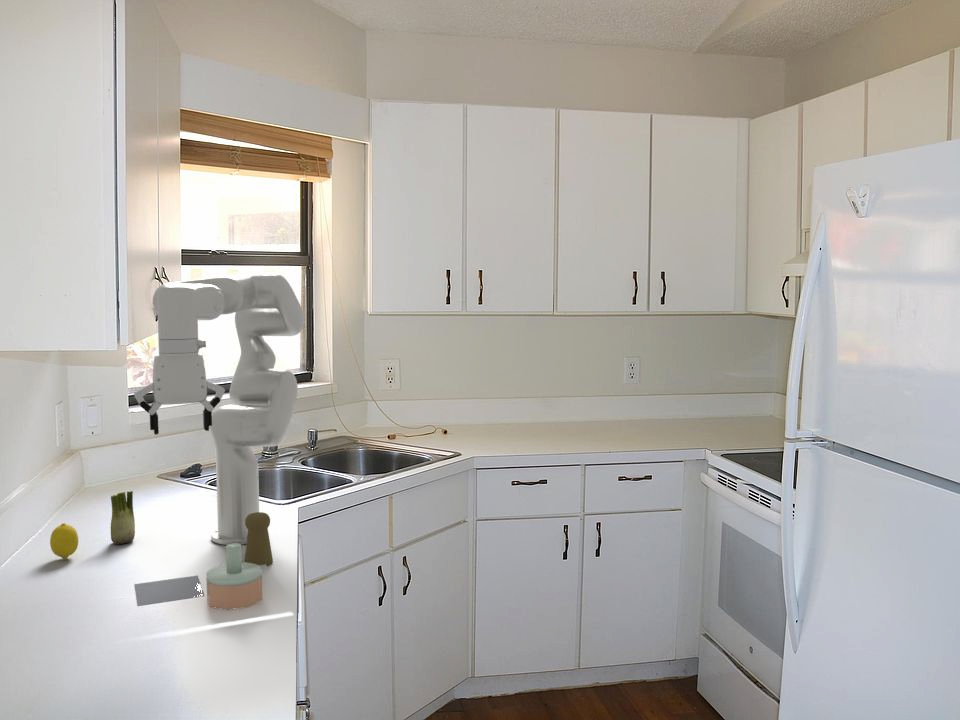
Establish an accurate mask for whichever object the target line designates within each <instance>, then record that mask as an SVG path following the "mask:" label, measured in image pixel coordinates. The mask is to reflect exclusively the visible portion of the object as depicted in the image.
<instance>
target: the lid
mask: <svg viewBox="0 0 960 720" xmlns="http://www.w3.org/2000/svg"><path fill="white" fill-rule="evenodd" d="M242 559H243V557H242V544H237V543H234V544H228V545H225V563H224V564H219V565H217V566H214V567H212V568H210V569H208V571H207V572H206V577H207V578H206V582H207V581H208V582H209V583H210V584H213V585H217V586H238V585H243V584H247V583H251V582H253V581H256V580H257V579H259V578H260V577H261V576H263V575H262V574H263V573H262V567H261V565H256V564H253V563H245V561H244V562H243V561H242Z"/></svg>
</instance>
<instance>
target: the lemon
mask: <svg viewBox="0 0 960 720" xmlns="http://www.w3.org/2000/svg"><path fill="white" fill-rule="evenodd" d="M49 544H50V550H51V552H52V553H53V554H54V555H55V556H57V557H60V558H62V559H63V560H67V559H68V558H69V557H70V556H71V555H74V553H75V552H76V551H77V549H78V547H79V534H78V531H77V530H76V529H75V527H74V526H72V525H69V524H67V523H65V522H64V523H61V524H60V525H58V526H56V527H55V528H54V529H53V530H52V532H51V535H50V540H49Z"/></svg>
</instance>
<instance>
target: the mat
mask: <svg viewBox="0 0 960 720" xmlns="http://www.w3.org/2000/svg"><path fill="white" fill-rule="evenodd" d="M197 583H198V584H199V583H200V584H201V581H200V578H199V576H198V575H191V576H190V575H189V576H185V577H184V576H183V577H176V578H170V579H161V580H155V581H149V582H141V583H135V584H134V590H135V596H136V598H135V599H136V604H137V605H136V606H137V607H141V606H147V605H154V604H161V603H168V602H173V601H174V602H175V601H180V600H187V599H188V600H189V599H194V598H193V597H194V596H195V598H200V597H199V595H200V594H203V596H202V597H205V596H204V595H205V592H204V589H203V586H202V587H201V588H202V589H203V590H202V593H201V590H200V592H199V591H197V589H198V588H197V586H198V585H197ZM196 585H197V586H196ZM201 585H202V584H201ZM195 587H196V589H195ZM197 595H198V597H197ZM200 596H201V595H200Z"/></svg>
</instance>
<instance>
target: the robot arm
mask: <svg viewBox="0 0 960 720" xmlns="http://www.w3.org/2000/svg"><path fill="white" fill-rule="evenodd" d="M152 307H153V309H154V312H155V314H156V316H157V332H158V335H157V337H158V339H157V340H158V353H156V354H154V357H153V358H154V359H153V365H152V367H153V368H152V383H150V384H148V385H146V386H144V387H142V388H140V389H139V390H137V391H134V393H133V395H134V398H135V399H136V401H137V403H138V405H139V406H140V407H141V408H142V409H143V410H144V411H146V412H147V413H148V414H149V428H150V431H153V433H154V435H156V436H157V435H159V434H160V433H159V432H160V431H159V414H158V413H157V411H158V410H159V409H160V408H161V406H163V405H167V406H170V405H184V404H186V405H187V404H197V403H198V404H201V405H202V406H203V407H204V409H203V410H202V417H203V418H202V419H203V420H202V421H203V429H204V431H206V432H209V431H210V433H211V434H210V435H211V438H212V443H213V445H214V446H213V447H214V454H215V455H214V456H215V467H216V468H215V469H216V470H215V471H216V472H215V473H216V474H215V475H216V476H215V477H216V504H217V506H216V507H217V508H216V509H217V529H216V530H214V531H213V532H211V535H210V539H211V541H212V542H213V543H215V544H219V545H225V546H226V545H228V544H234V543H237V544H241V545H246V544H247V535H248V529H247V527H246V525H245V519H246V517H247V516H248V515H249V514H251V513H256V512H260V489H259V488H260V486H259V485H260V483H259V482H260V481H259V463H258V459H257V457H256V455H255V453H254V451H253V450H252V449H251V447H265V448H269V447H270V448H271V447H272V448H273V447H277V446H280V445H281V444H282V443H283V442H284V440H285V438H286V436H287V434H288V429H289V426H290V423H291V419H292V416H293V412H294V409H295V405H296V402H297V396H298V381H297V378H296V376H295V373H293V372H291V371H290V370H288V369H283V368H275V365H276V361H277V360H276V359H277V358H276V354H275V352H274V351H273V349H272V348H271V346H270V345H269V344H268V343H267V342H266V341H265V339H264V337H294V336H297V335H299V334H300V333H301V332H302V330H304V329H303V328H304V326H305V315H304V311H303V308H302V307H303V306H301V303H300V302H299V298H298V297H297V296H296V294H295V292H294V290H293V287H292V285H290V283H289V281H288V280H287V279H286V278H285V277H284V276H283V275H282V274H280V273H278V272H277V273H276V272H242V273H241V272H240V273H236V274H230V275H223V276H217V277H216V276H215V277H214V276H213V277H207V278H200V279H193V280H192V279H191V280H182V281H180V280H179V281H174V282H168V283H167V282H166V283H163V284H161V285H159V286H158V287H157V289H156V290H155V291H154V293H153V295H152ZM234 313H235V314H234ZM230 314H234V324H235V328H236V329H235V330H236V333H237V338H238V342H239V347H240V357H239V361H238V363H237V365H236V369H235V371H234V374H233V378H232V380H231V383H230V387H229V395H228V396H229V399H230V401H231V403H232V404H227V405H222V406H219V407H218V408H217V409H215V407H216V406H218V404H219V403H220V402H221V400H222V399H223V396H224V394H225V393H226V389H225V388H224V387H222V386H220V385H217V384H215V383H213V382H211V381H208V380H207V374H206V373H207V372H206V367H205V361H204V357H203V353H202V352H200V350H201V349H202V348H206V347H207V341H206V340H200V339H199V324H198V322H199V321H212V320H215V319H217V318H219V317H220V316H222V315H230ZM208 389H209V390H212V391H214V392H215V395H214V396H213V398H212V399H211V400H210V401H208V400H207V398H208ZM151 392H152V396H153V397H152V398H153V400H154V401H153V402H152V403H151V405H150V404H149V403H148V402H147V401H146V400H145V399H144V396H146V395H147V394H149V393H151ZM214 409H215V410H214ZM213 410H214V411H213ZM212 411H213V412H212Z"/></svg>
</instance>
